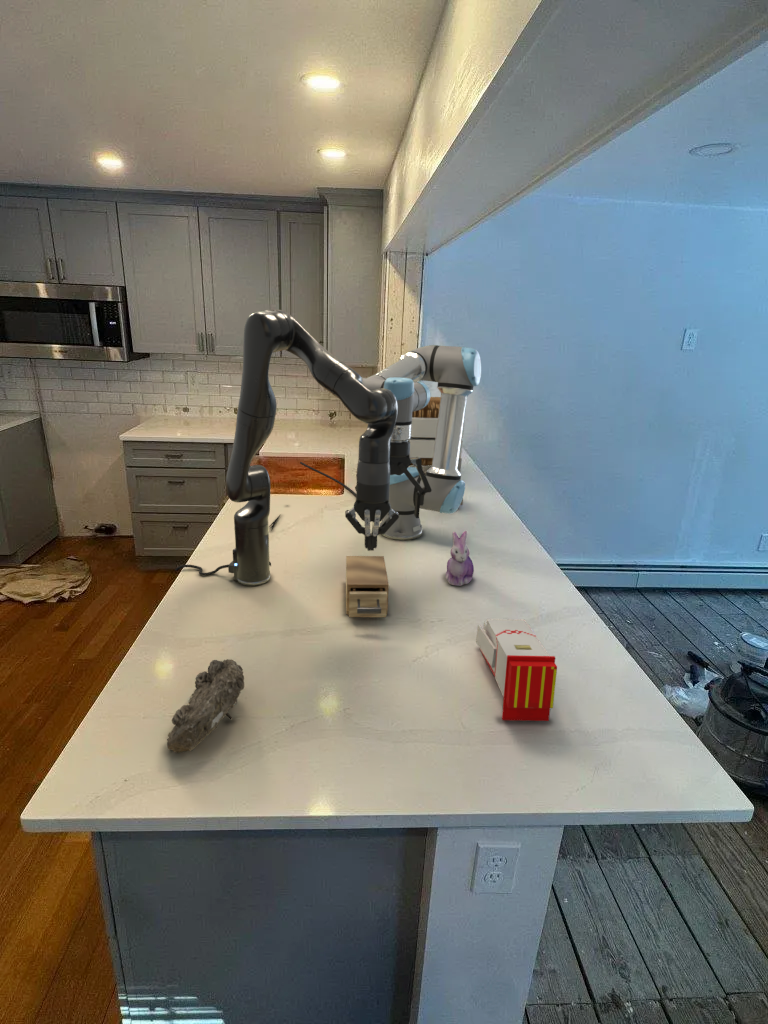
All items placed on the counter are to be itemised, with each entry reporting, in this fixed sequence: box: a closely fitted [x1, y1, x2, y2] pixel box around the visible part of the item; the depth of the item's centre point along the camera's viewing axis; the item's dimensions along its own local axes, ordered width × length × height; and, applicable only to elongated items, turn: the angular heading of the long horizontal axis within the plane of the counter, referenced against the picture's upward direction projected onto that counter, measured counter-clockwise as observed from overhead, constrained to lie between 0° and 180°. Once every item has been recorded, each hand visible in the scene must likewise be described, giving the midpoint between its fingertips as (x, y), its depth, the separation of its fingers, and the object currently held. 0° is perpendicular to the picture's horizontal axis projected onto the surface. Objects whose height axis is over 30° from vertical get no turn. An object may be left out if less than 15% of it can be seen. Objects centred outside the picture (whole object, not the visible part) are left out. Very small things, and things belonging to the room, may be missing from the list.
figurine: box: [445, 530, 475, 587], centre depth 165 cm, size 9×10×15 cm
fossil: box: [166, 658, 245, 754], centre depth 106 cm, size 22×10×15 cm
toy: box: [475, 618, 558, 722], centre depth 122 cm, size 12×13×30 cm
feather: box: [268, 504, 288, 532], centre depth 209 cm, size 2×28×2 cm
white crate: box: [409, 396, 465, 475], centre depth 268 cm, size 34×33×41 cm
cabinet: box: [345, 555, 390, 616], centre depth 153 cm, size 17×11×9 cm, turn 4°
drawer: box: [348, 588, 387, 618], centre depth 147 cm, size 22×9×7 cm, turn 4°
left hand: (370, 549), depth 134 cm, fingers closed
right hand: (391, 516), depth 153 cm, fingers open, 13 cm apart
